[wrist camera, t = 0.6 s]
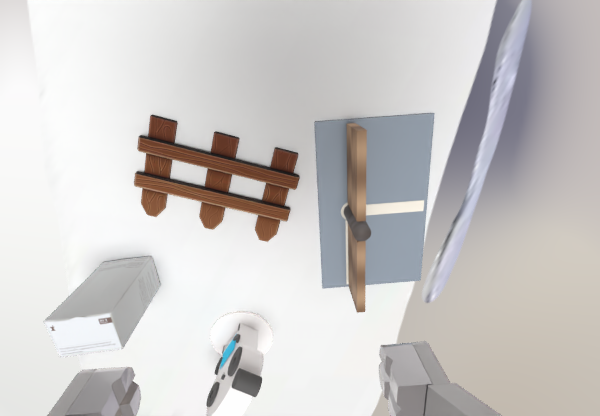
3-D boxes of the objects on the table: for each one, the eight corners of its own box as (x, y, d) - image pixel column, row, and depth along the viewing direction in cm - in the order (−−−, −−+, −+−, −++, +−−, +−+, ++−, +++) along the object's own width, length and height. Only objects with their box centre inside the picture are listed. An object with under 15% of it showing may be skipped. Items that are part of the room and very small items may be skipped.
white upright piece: (230, 298, 56) (212, 370, 42) (286, 324, 59) (287, 400, 45) (199, 345, 60) (174, 426, 46) (254, 368, 62) (245, 450, 48)
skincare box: (114, 290, 55) (56, 360, 41) (102, 258, 52) (37, 322, 39) (164, 284, 55) (123, 353, 41) (154, 253, 52) (107, 314, 39)
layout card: (314, 121, 46) (315, 122, 46) (433, 113, 46) (434, 113, 46) (322, 287, 56) (322, 288, 56) (419, 279, 57) (420, 280, 56)
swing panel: (346, 123, 46) (356, 130, 39) (355, 123, 46) (366, 130, 39) (347, 203, 50) (357, 221, 43) (355, 202, 50) (365, 221, 44)
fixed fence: (343, 204, 50) (353, 225, 43) (358, 203, 51) (371, 224, 43) (344, 284, 56) (353, 315, 48) (358, 283, 56) (370, 314, 48)
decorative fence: (145, 112, 45) (135, 209, 50) (140, 113, 44) (130, 213, 49) (304, 154, 48) (280, 241, 53) (305, 156, 47) (280, 246, 52)
